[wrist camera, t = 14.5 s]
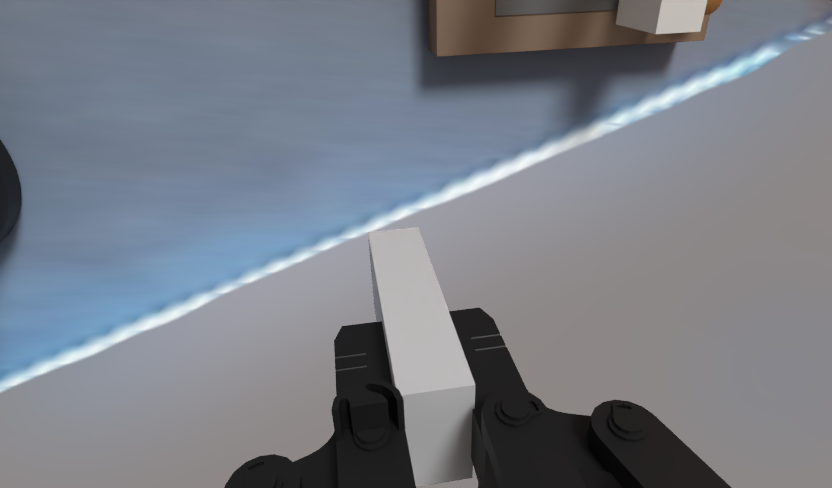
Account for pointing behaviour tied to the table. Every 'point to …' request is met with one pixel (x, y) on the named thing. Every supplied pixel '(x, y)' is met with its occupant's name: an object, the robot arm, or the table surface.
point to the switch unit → (537, 26)
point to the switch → (662, 15)
